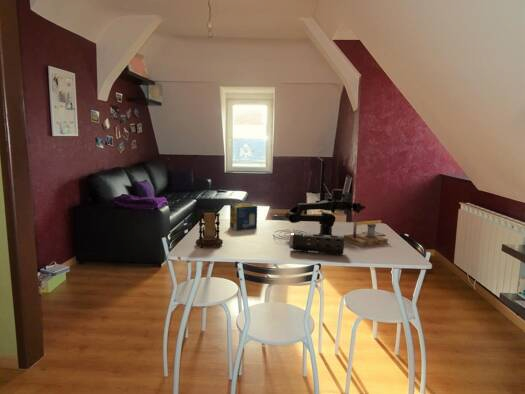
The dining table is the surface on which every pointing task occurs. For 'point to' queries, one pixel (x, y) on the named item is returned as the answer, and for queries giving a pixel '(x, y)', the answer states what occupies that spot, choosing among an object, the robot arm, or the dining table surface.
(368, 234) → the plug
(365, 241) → the socket base
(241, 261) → the dining table surface
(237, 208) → the protein box
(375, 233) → the rubber mat
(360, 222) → the bar
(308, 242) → the muzzle brake
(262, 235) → the dining table surface
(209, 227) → the wooden hourglass
